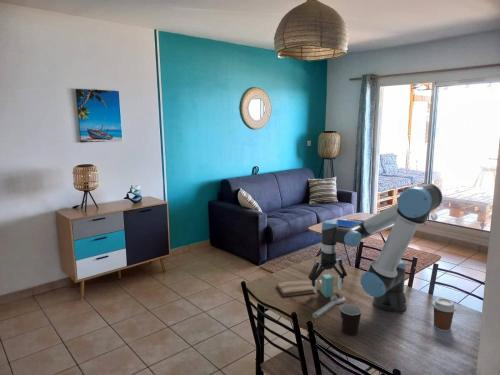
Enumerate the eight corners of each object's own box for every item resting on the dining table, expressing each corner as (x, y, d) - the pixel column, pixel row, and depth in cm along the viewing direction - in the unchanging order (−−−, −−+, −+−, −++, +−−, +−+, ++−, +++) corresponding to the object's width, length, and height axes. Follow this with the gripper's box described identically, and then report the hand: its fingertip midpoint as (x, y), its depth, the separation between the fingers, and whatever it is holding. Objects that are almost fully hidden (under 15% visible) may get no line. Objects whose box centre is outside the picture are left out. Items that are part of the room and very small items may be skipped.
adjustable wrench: (316, 320, 164) (316, 316, 164) (304, 314, 169) (305, 311, 169) (347, 301, 181) (347, 297, 181) (336, 296, 186) (336, 293, 185)
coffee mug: (357, 339, 149) (358, 317, 147) (336, 333, 153) (337, 311, 152) (364, 326, 159) (365, 304, 157) (345, 320, 163) (346, 299, 161)
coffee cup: (441, 319, 163) (443, 294, 161) (459, 330, 155) (461, 304, 152) (425, 323, 160) (427, 298, 158) (442, 335, 152) (445, 308, 149)
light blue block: (332, 296, 185) (333, 278, 183) (325, 297, 184) (326, 278, 182) (323, 287, 196) (324, 269, 194) (316, 287, 195) (317, 270, 193)
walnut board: (317, 292, 189) (317, 288, 189) (284, 296, 185) (284, 292, 185) (308, 282, 201) (308, 279, 200) (276, 286, 197) (277, 282, 196)
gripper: (347, 246, 189) (345, 284, 193) (302, 250, 183) (301, 290, 187) (355, 251, 182) (353, 291, 186) (308, 256, 176) (307, 296, 180)
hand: (327, 290), depth 187 cm, fingers open, 13 cm apart
